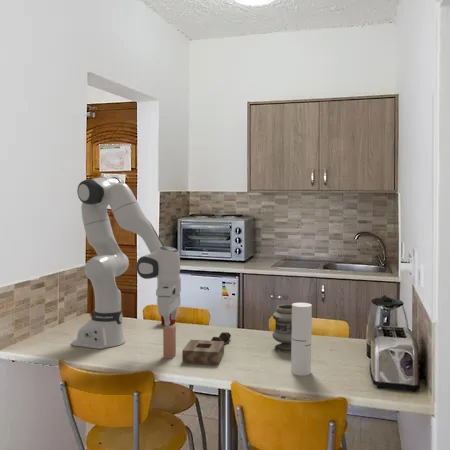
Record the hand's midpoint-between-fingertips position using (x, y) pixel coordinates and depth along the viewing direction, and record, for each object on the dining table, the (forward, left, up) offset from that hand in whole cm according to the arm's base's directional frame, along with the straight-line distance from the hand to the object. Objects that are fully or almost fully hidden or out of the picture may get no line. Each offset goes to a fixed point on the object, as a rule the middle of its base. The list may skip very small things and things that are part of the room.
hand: (170, 322), depth 196 cm
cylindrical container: (+51, -9, -14) cm, 54 cm away
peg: (-1, 0, -14) cm, 14 cm away
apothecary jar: (+45, +18, -14) cm, 51 cm away
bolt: (+18, +19, -14) cm, 30 cm away
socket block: (+13, 0, -14) cm, 19 cm away
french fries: (-14, +46, -14) cm, 50 cm away
